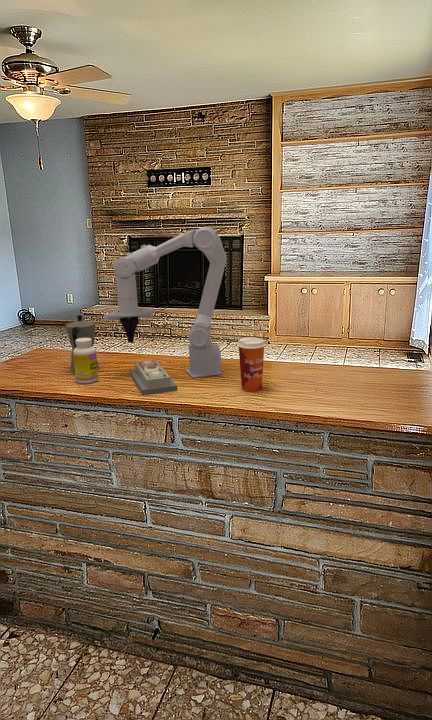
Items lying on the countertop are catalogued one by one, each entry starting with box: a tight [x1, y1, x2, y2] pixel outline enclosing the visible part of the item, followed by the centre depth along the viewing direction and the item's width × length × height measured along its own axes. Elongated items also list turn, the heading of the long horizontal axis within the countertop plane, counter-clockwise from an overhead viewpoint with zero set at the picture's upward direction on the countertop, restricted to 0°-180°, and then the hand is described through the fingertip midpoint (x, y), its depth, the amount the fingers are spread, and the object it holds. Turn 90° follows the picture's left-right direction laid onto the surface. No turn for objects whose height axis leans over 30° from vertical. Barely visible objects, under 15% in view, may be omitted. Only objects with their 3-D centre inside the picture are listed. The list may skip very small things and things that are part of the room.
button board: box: [129, 359, 178, 396], centre depth 152 cm, size 10×20×4 cm, turn 19°
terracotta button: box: [139, 359, 155, 367], centre depth 157 cm, size 4×4×3 cm
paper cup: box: [237, 336, 266, 393], centre depth 143 cm, size 8×8×14 cm
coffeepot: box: [65, 314, 100, 374], centre depth 163 cm, size 15×9×18 cm, turn 1°
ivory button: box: [144, 365, 159, 373], centre depth 151 cm, size 4×4×3 cm
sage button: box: [148, 371, 164, 379], centre depth 146 cm, size 4×4×3 cm
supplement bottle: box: [73, 338, 99, 384], centre depth 154 cm, size 7×7×13 cm
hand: (130, 341), depth 157 cm, fingers closed
